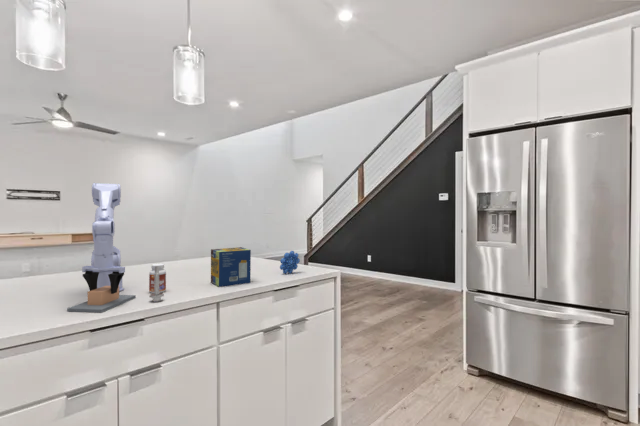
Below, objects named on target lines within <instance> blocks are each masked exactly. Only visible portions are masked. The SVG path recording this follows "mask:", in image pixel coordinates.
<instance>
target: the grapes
mask: <svg viewBox="0 0 640 426" xmlns="http://www.w3.org/2000/svg"><path fill="white" fill-rule="evenodd" d="M300 261H301V260H300V258H299V253H298V252H295V251H294V250H290V251H289V252H285V253H284V255H283V257H281V258H280V266H279V269H280V270H282V273H283V274H288V275H289V274H292V273H293V272H294V271H295V270H297V269H298V264H300Z"/></svg>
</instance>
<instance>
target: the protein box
mask: <svg viewBox="0 0 640 426" xmlns="http://www.w3.org/2000/svg"><path fill="white" fill-rule="evenodd" d="M251 255H252V251H251V249H248V248H245V247H243V246H242V247H241V246H240V247H237V246H236V247H227V248H211V249H210V283H211V284H213V285H215V286H216V287H218V288H220V287H222V288H223V287H229V286H230V287H231V286H237V285H242V284H243V285H244V284H251V272H252V271H251V268H252V267H251V266H252V265H251V263H252V262H251V260H252V259H251V258H252V257H251Z"/></svg>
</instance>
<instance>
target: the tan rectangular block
mask: <svg viewBox="0 0 640 426" xmlns="http://www.w3.org/2000/svg"><path fill="white" fill-rule="evenodd" d="M119 295H120V291H119V286H118V289H117V292H116V293H114V294H111V286H104V287H101V288H97V289H94V290H91V291H90V290H89V291H87V301H88V305H104V304H106V303H108V302H111V301H113V300H116V299H118V298H119Z"/></svg>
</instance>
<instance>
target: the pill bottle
mask: <svg viewBox="0 0 640 426" xmlns="http://www.w3.org/2000/svg"><path fill="white" fill-rule="evenodd" d="M156 266H158V267H159V274H160V275H159V277H160V278H159V282H160V283H159V285H160V286H159V290H160V291H159V293H164V292H166V291H167V271H166V269H165V264H164V263H153V264H151V266H150V267H151V270H150V271H149V274H148V277H149V279H148V280H149V282H148V283H149V285H148V290H149V293H151V294H154V275H155V267H156Z"/></svg>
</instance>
